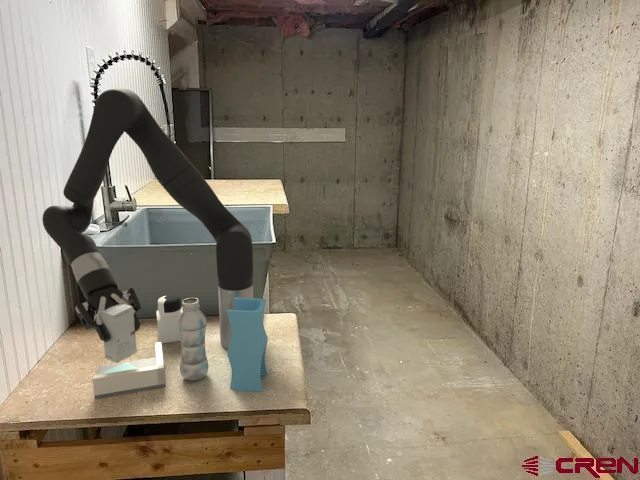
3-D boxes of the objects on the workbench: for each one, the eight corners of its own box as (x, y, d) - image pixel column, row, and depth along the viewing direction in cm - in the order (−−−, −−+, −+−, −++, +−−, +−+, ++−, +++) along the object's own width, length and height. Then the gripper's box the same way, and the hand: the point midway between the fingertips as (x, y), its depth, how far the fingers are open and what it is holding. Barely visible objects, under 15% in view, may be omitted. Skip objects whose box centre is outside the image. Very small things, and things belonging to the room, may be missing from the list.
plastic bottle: (178, 372, 117) (173, 297, 112) (206, 367, 120) (202, 293, 114) (182, 386, 111) (177, 308, 106) (211, 380, 114) (207, 304, 108)
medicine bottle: (183, 329, 139) (181, 291, 136) (186, 340, 133) (183, 300, 130) (158, 332, 137) (154, 294, 134) (159, 344, 130) (155, 304, 127)
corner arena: (162, 359, 123) (161, 341, 122) (165, 386, 111) (163, 367, 110) (99, 368, 118) (97, 350, 117) (95, 398, 106) (92, 379, 105)
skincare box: (117, 363, 110) (112, 316, 106) (104, 358, 112) (98, 311, 108) (138, 352, 115) (134, 306, 112) (125, 347, 117) (120, 302, 114)
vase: (236, 371, 118) (234, 297, 113) (267, 373, 118) (267, 298, 112) (228, 389, 111) (225, 311, 105) (262, 391, 110) (261, 312, 105)
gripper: (66, 275, 107) (96, 339, 103) (126, 260, 118) (156, 318, 114) (59, 290, 112) (87, 352, 108) (117, 275, 122) (145, 331, 119)
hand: (122, 335), depth 111 cm, fingers closed on skincare box, 6 cm apart
